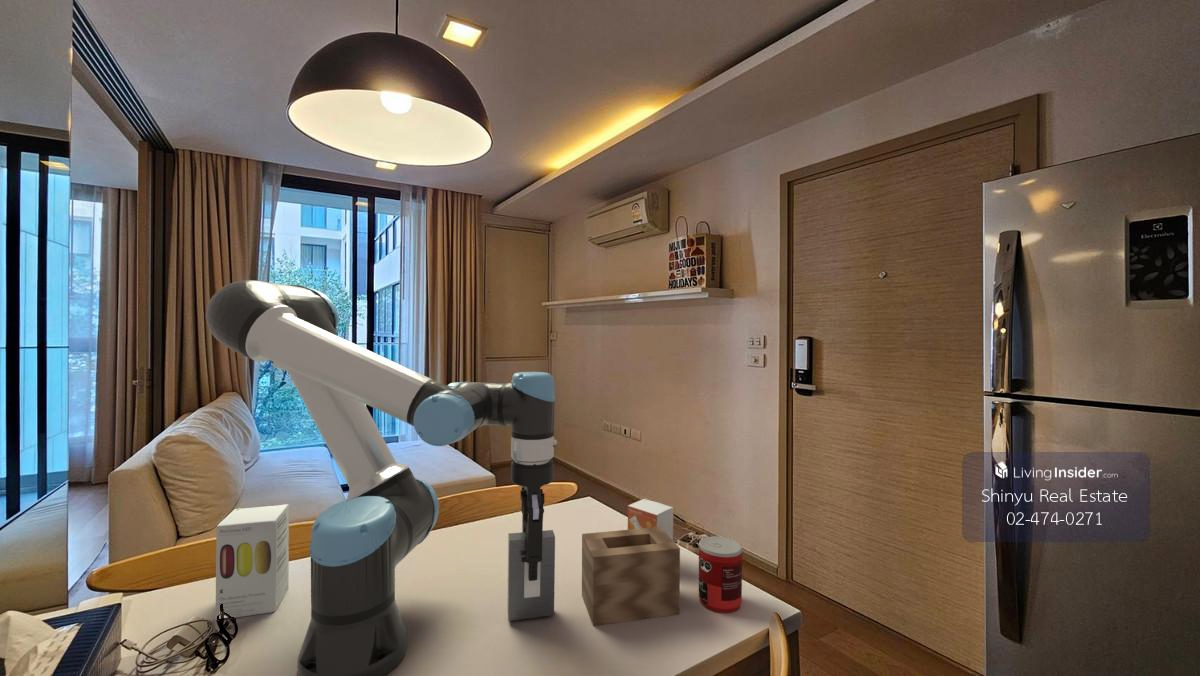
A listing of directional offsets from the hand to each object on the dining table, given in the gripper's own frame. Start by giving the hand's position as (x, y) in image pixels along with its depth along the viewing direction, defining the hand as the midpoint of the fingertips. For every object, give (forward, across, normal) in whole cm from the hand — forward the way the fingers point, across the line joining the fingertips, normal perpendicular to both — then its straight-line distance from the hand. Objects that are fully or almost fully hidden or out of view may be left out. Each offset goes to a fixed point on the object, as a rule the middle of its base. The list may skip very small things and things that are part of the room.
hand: (530, 590), depth 88 cm
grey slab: (+4, 0, 0) cm, 4 cm away
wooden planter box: (+5, 0, -18) cm, 19 cm away
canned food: (+5, -3, -35) cm, 36 cm away
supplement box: (+6, +16, +50) cm, 52 cm away
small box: (+5, +14, -27) cm, 31 cm away
